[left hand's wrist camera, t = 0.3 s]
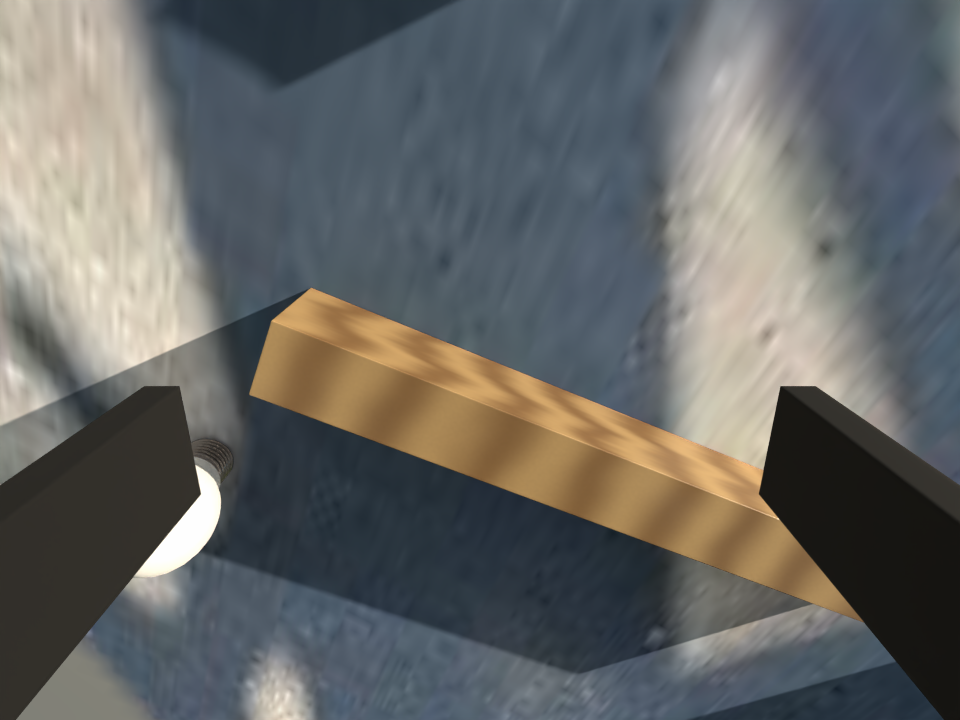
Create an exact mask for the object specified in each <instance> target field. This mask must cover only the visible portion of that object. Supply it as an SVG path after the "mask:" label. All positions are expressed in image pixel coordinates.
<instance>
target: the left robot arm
mask: <svg viewBox="0 0 960 720" xmlns="http://www.w3.org/2000/svg"><path fill="white" fill-rule="evenodd" d="M200 495H201V490H200V485H199V480H198V475H197V470H196V466H195V461H194V456H193V451H192V446H191V441H190V436H189V431H188V426H187V421H186V416H185V411H184V406H183V401H182V397H181V392H180V387H179V386H144V387H143V388H141V389H140V390H138V391H137V392H135V393H134V394H132V395H131V396H130V397H128V398H127V399H125V400H124V401H122V402H121V403H119V404H118V405H116V406H115V407H114V408H112V409H111V410H109V411H108V412H106V413H105V414H103V415H102V416H100V417H99V418H98V419H96V420H95V421H93V422H92V423H90V424H89V425H87V426H86V427H84V428H83V429H82V430H80V431H79V432H77V433H76V434H74V435H73V436H71V437H70V438H68V439H67V440H66V441H64V442H63V443H61V444H60V445H58V446H57V447H55V448H54V449H52V450H51V451H50V452H48V453H47V454H45V455H44V456H42V457H41V458H39V459H38V460H36V461H35V462H34V463H32V464H31V465H29V466H28V467H26V468H25V469H23V470H22V471H20V472H19V473H18V474H16V475H15V476H13V477H12V478H10V479H9V480H7V481H6V482H4V483H3V484H2V485H0V720H16V719H17V718H18V716H19V715H20V714H21V713H22V712H23V710H24V709H25V708H26V707H27V706H28V704H29V703H30V702H31V701H32V699H33V698H34V697H35V696H36V695H37V693H38V692H39V691H40V690H41V688H42V687H43V686H44V685H45V684H46V682H47V681H48V680H49V679H50V678H51V676H52V675H53V674H54V673H55V671H56V670H57V669H58V668H59V667H60V665H61V664H62V663H63V662H64V661H65V659H66V658H67V657H68V656H69V654H70V653H71V652H72V651H73V650H74V648H75V647H76V646H77V645H78V644H79V642H80V641H81V640H82V639H83V637H84V636H85V635H86V634H87V633H88V631H89V630H90V629H91V628H92V627H93V625H94V624H95V623H96V622H97V620H98V619H99V618H100V617H101V616H102V614H103V613H104V612H105V611H106V609H107V608H108V607H109V606H110V605H111V603H112V602H113V601H114V600H115V599H116V597H117V596H118V595H119V594H120V592H121V591H122V590H123V589H124V588H125V586H126V585H127V584H128V583H129V582H130V580H131V579H132V578H133V577H134V575H135V574H136V573H137V572H138V571H139V569H140V568H141V567H142V566H143V565H144V563H145V562H146V561H147V560H148V558H149V557H150V556H151V555H152V554H153V552H154V551H155V550H156V549H157V548H158V546H159V545H160V544H161V543H162V541H163V540H164V539H165V538H166V537H167V535H168V534H169V533H170V532H171V530H172V529H173V528H174V527H175V526H176V524H177V523H178V522H179V521H180V520H181V518H182V517H183V516H184V515H185V513H186V512H187V511H188V510H189V509H190V507H191V506H192V505H193V504H194V503H195V501H196V500H197V499H198V498H199V496H200ZM759 495H760V496H761V498H762V499H763V500H764V501H765V503H766V504H767V505H768V506H769V507H770V509H771V510H772V511H773V512H774V513H775V515H776V516H777V517H778V518H779V520H780V521H781V522H782V523H783V524H784V526H785V527H786V528H787V529H788V530H789V532H790V533H791V534H792V535H793V537H794V538H795V539H796V540H797V541H798V543H799V544H800V545H801V546H802V548H803V549H804V550H805V551H806V552H807V554H808V555H809V556H810V557H811V558H812V560H813V561H814V562H815V563H816V565H817V566H818V567H819V568H820V569H821V571H822V572H823V573H824V574H825V575H826V577H827V578H828V579H829V580H830V582H831V583H832V584H833V585H834V586H835V588H836V589H837V590H838V591H839V592H840V594H841V595H842V596H843V597H844V599H845V600H846V601H847V602H848V603H849V605H850V606H851V607H852V608H853V609H854V611H855V612H856V613H857V614H858V616H859V617H860V618H861V619H862V620H863V622H864V623H865V624H866V625H867V627H868V628H869V629H870V630H871V631H872V633H873V634H874V635H875V636H876V637H877V639H878V640H879V641H880V642H881V644H882V645H883V646H884V647H885V648H886V650H887V651H888V652H889V653H890V654H891V656H892V657H893V658H894V659H895V661H896V662H897V663H898V664H899V665H900V667H901V668H902V669H903V670H904V671H905V673H906V674H907V675H908V676H909V678H910V679H911V680H912V681H913V682H914V684H915V685H916V686H917V687H918V688H919V690H920V691H921V692H922V693H923V695H924V696H925V697H926V698H927V699H928V701H929V702H930V703H931V704H932V706H933V707H934V708H935V709H936V710H937V712H938V713H939V714H940V715H941V716H942V718H943V719H944V720H960V485H958V484H957V483H956V482H954V481H953V480H951V479H950V478H948V477H947V476H945V475H944V474H942V473H941V472H940V471H938V470H937V469H935V468H934V467H932V466H931V465H929V464H928V463H926V462H925V461H924V460H922V459H921V458H919V457H918V456H916V455H915V454H913V453H912V452H910V451H909V450H908V449H906V448H905V447H903V446H902V445H900V444H899V443H897V442H896V441H894V440H893V439H892V438H890V437H889V436H887V435H886V434H884V433H883V432H881V431H880V430H878V429H877V428H876V427H874V426H873V425H871V424H870V423H868V422H867V421H865V420H864V419H862V418H861V417H860V416H858V415H857V414H855V413H854V412H852V411H851V410H849V409H848V408H846V407H845V406H844V405H842V404H841V403H839V402H838V401H836V400H835V399H833V398H832V397H830V396H829V395H828V394H826V393H825V392H823V391H822V390H820V389H819V388H817V387H816V386H781V387H780V392H779V397H778V401H777V406H776V411H775V416H774V421H773V426H772V431H771V436H770V441H769V446H768V451H767V456H766V461H765V466H764V470H763V475H762V480H761V485H760V490H759Z"/></svg>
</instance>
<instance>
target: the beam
mask: <svg viewBox="0 0 960 720" xmlns="http://www.w3.org/2000/svg"><path fill="white" fill-rule="evenodd" d="M249 395H251V396H254V397H257V398H259V399H262V400H265V401H267V402H270V403H273V404H276V405H278V406H281V407H284V408H286V409H289V410H292V411H294V412H297V413H300V414H303V415H305V416H308V417H311V418H313V419H316V420H319V421H321V422H324V423H327V424H330V425H332V426H335V427H338V428H340V429H343V430H346V431H348V432H351V433H354V434H357V435H359V436H362V437H365V438H367V439H370V440H373V441H375V442H378V443H381V444H384V445H386V446H389V447H392V448H394V449H397V450H400V451H402V452H405V453H408V454H411V455H413V456H416V457H419V458H421V459H424V460H427V461H429V462H432V463H435V464H438V465H440V466H443V467H446V468H448V469H451V470H454V471H456V472H459V473H462V474H464V475H467V476H470V477H473V478H475V479H478V480H481V481H483V482H486V483H489V484H491V485H494V486H497V487H500V488H502V489H505V490H508V491H510V492H513V493H516V494H518V495H521V496H524V497H527V498H529V499H532V500H535V501H537V502H540V503H543V504H545V505H548V506H551V507H554V508H556V509H559V510H562V511H564V512H567V513H570V514H572V515H575V516H578V517H581V518H583V519H586V520H589V521H591V522H594V523H597V524H599V525H602V526H605V527H608V528H610V529H613V530H616V531H618V532H621V533H624V534H626V535H629V536H632V537H635V538H637V539H640V540H643V541H645V542H648V543H651V544H653V545H656V546H659V547H662V548H664V549H667V550H670V551H672V552H675V553H678V554H680V555H683V556H686V557H689V558H691V559H694V560H697V561H699V562H702V563H705V564H707V565H710V566H713V567H715V568H718V569H721V570H724V571H726V572H729V573H732V574H734V575H737V576H740V577H742V578H745V579H748V580H751V581H753V582H756V583H759V584H761V585H764V586H767V587H769V588H772V589H775V590H778V591H780V592H783V593H786V594H788V595H791V596H794V597H796V598H799V599H802V600H805V601H807V602H810V603H813V604H815V605H818V606H821V607H823V608H826V609H829V610H832V611H834V612H837V613H840V614H842V615H845V616H848V617H850V618H853V619H856V620H859V621H861V622H863V620H862V619H861V618H860V617H859V616H858V614H857V613H856V612H855V611H854V609H853V608H852V607H851V606H850V605H849V603H848V602H847V601H846V600H845V599H844V597H843V596H842V595H841V594H840V592H839V591H838V590H837V589H836V588H835V586H834V585H833V584H832V583H831V582H830V580H829V579H828V578H827V577H826V575H825V574H824V573H823V572H822V571H821V569H820V568H819V567H818V566H817V565H816V563H815V562H814V561H813V560H812V558H811V557H810V556H809V555H808V554H807V552H806V551H805V550H804V549H803V548H802V546H801V545H800V544H799V543H798V541H797V540H796V539H795V538H794V537H793V535H792V534H791V533H790V532H789V530H788V529H787V528H786V527H785V526H784V524H783V523H782V522H781V521H780V520H779V518H778V517H777V516H776V515H775V513H774V512H773V511H772V510H771V509H770V507H769V506H768V505H767V504H766V503H765V501H764V500H763V499H762V498H761V496H760V495H759V490H760V485H761V480H762V475H763V470H761V469H758V468H756V467H753V466H751V465H748V464H746V463H743V462H741V461H738V460H736V459H733V458H731V457H728V456H726V455H723V454H721V453H718V452H716V451H714V450H711V449H709V448H706V447H704V446H701V445H699V444H696V443H694V442H691V441H689V440H686V439H684V438H681V437H679V436H676V435H674V434H671V433H669V432H667V431H664V430H662V429H659V428H657V427H654V426H652V425H649V424H647V423H644V422H642V421H639V420H637V419H634V418H632V417H629V416H627V415H624V414H622V413H619V412H617V411H615V410H612V409H610V408H607V407H605V406H602V405H600V404H597V403H595V402H592V401H590V400H587V399H585V398H582V397H580V396H577V395H575V394H572V393H570V392H568V391H565V390H563V389H560V388H558V387H555V386H553V385H550V384H548V383H545V382H543V381H540V380H538V379H535V378H533V377H530V376H528V375H525V374H523V373H521V372H518V371H516V370H513V369H511V368H508V367H506V366H503V365H501V364H498V363H496V362H493V361H491V360H488V359H486V358H483V357H481V356H478V355H476V354H474V353H471V352H469V351H466V350H464V349H461V348H459V347H456V346H454V345H451V344H449V343H446V342H444V341H441V340H439V339H436V338H434V337H431V336H429V335H426V334H424V333H422V332H419V331H417V330H414V329H412V328H409V327H407V326H404V325H402V324H399V323H397V322H394V321H392V320H389V319H387V318H384V317H382V316H379V315H377V314H375V313H372V312H370V311H367V310H365V309H362V308H360V307H357V306H355V305H352V304H350V303H347V302H345V301H342V300H340V299H337V298H335V297H332V296H330V295H328V294H325V293H323V292H320V291H318V290H315V289H313V288H310V289H309V290H308V291H307V292H305V293H304V294H303V295H302V296H301V297H299V298H298V299H297V300H296V301H295V302H293V303H292V304H291V305H290V306H289V307H287V308H286V309H285V310H284V311H283V312H281V313H280V314H279V315H278V316H277V317H275V318H274V319H273V320H272V321H271V324H270V327H269V330H268V334H267V337H266V340H265V343H264V347H263V350H262V353H261V356H260V360H259V363H258V366H257V370H256V373H255V376H254V379H253V383H252V386H251V389H250V392H249Z"/></svg>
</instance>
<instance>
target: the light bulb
mask: <svg viewBox="0 0 960 720" xmlns="http://www.w3.org/2000/svg"><path fill="white" fill-rule="evenodd" d="M191 446H192V451H193V456H194V461H195V466H196V470H197V475H198V480H199V485H200V490H201V495H200V496H199V498H198V499H197V500H196V501H195V503H194V504H193V505H192V506H191V507H190V509H189V510H188V511H187V512H186V513H185V515H184V516H183V517H182V518H181V520H180V521H179V522H178V523H177V524H176V526H175V527H174V528H173V529H172V530H171V532H170V533H169V534H168V535H167V537H166V538H165V539H164V540H163V541H162V543H161V544H160V545H159V546H158V548H157V549H156V550H155V551H154V552H153V554H152V555H151V556H150V557H149V558H148V560H147V561H146V562H145V563H144V565H143V566H142V567H141V568H140V569H139V571H138V572H137V573H136V574H135V575H134V577H133V578H150V577H155V576H158V575H162V574H165V573H168V572H170V571H172V570H174V569H176V568H178V567H180V566H182V565H184V564H185V563H186V562H187V561H189V560H190V559H191V558H192V557H194V556H195V555H196V554H197V553H198V552H199V551H200V550H201V549H202V548H203V546H204V545H205V544H206V543H207V541H208V540H209V539H210V537H211V535H212V533H213V532H214V530H215V527H216V525H217V522H218V519H219V516H220V509H221V497H220V492H219V487H220V484H221V483H222V482H223V480H224V479H225V478H226V476H227V475H228V474H229V473H230V471H231V469H232V466H233V457H232V454H231V452H230V451H229V450H228V448H227V447H226V446H224V445H223V444H221V443H220V442H217V441H214V440H209V439H202V440H197V441H194V442H192V443H191Z"/></svg>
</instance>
